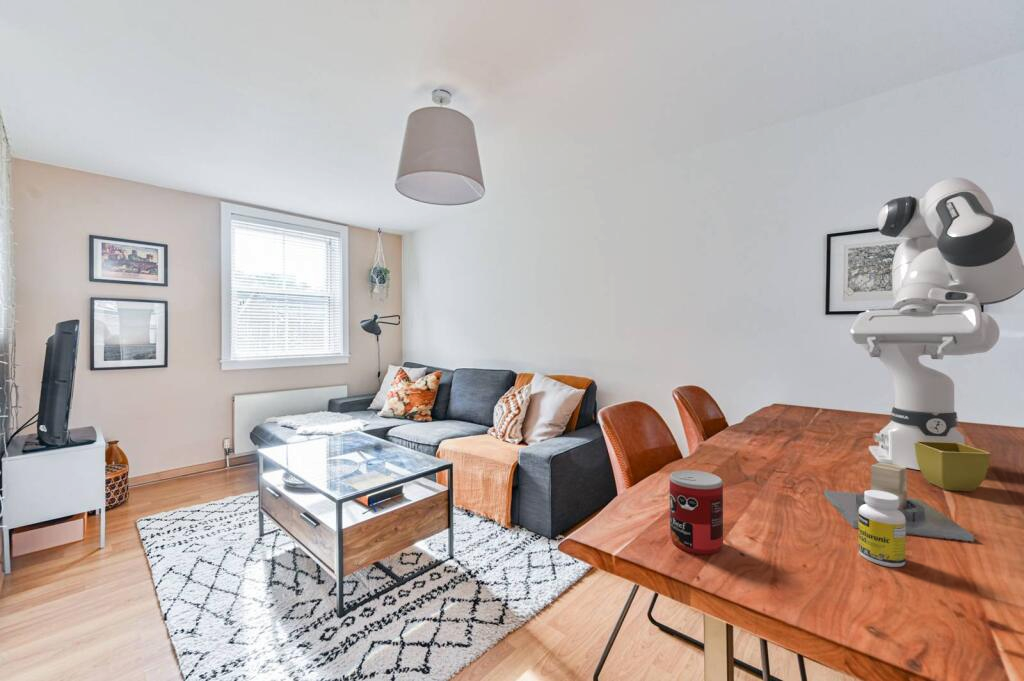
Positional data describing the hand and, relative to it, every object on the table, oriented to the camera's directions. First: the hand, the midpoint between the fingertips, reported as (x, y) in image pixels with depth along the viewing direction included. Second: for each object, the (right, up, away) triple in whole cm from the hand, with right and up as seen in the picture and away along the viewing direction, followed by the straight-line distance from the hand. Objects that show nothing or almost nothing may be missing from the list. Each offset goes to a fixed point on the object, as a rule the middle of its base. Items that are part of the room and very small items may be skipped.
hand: (903, 356), depth 86 cm
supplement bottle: (-22, -30, -21) cm, 43 cm away
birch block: (-8, -28, -6) cm, 30 cm away
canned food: (-48, -30, -15) cm, 59 cm away
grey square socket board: (-8, -29, -6) cm, 31 cm away
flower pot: (+18, -29, +8) cm, 35 cm away
